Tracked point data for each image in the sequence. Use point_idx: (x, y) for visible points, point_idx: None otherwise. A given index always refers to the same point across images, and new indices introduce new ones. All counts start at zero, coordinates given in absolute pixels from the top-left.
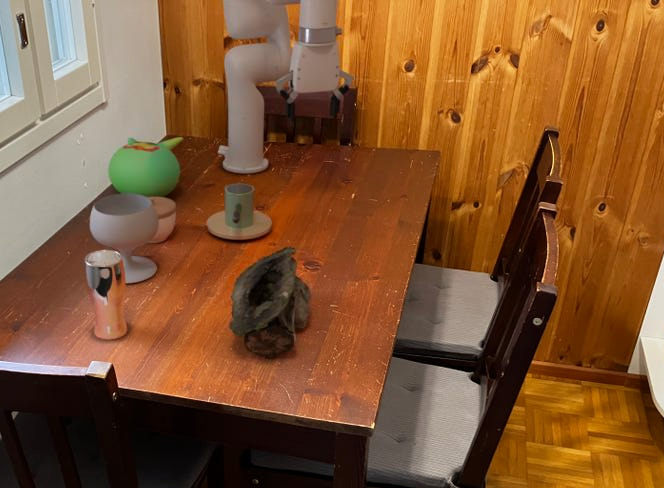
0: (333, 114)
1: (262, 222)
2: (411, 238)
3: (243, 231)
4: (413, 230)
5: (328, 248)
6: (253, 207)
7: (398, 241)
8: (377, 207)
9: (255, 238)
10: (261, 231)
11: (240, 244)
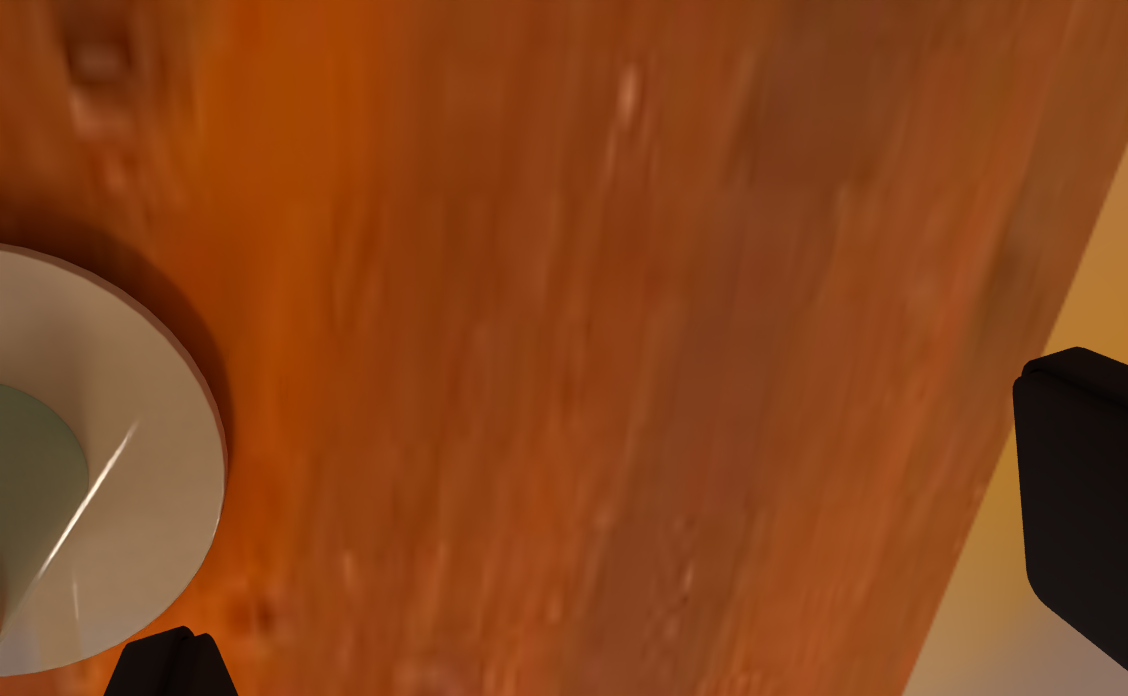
0: (1067, 598)
1: (155, 469)
2: (994, 466)
3: (39, 611)
4: None
5: (568, 622)
6: (50, 545)
7: (925, 506)
8: (934, 39)
9: None
10: (165, 598)
11: None
